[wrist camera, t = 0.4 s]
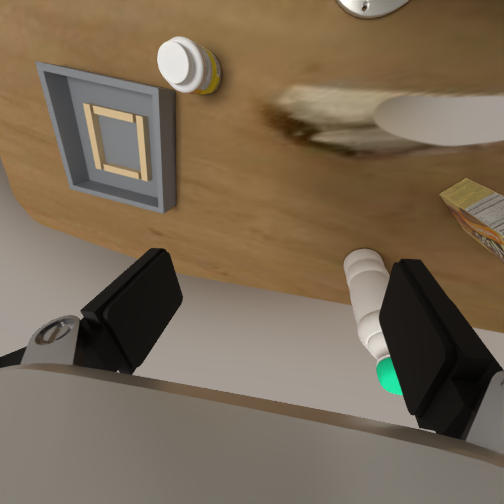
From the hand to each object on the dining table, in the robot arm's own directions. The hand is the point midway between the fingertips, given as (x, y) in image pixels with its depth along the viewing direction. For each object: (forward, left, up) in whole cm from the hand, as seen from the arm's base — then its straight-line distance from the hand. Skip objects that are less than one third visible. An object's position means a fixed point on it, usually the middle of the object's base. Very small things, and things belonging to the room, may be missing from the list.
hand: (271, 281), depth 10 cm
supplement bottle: (-8, -17, -34) cm, 39 cm away
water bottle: (+17, +18, -34) cm, 42 cm away
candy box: (+2, +28, -34) cm, 44 cm away
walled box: (+5, -32, -34) cm, 47 cm away
